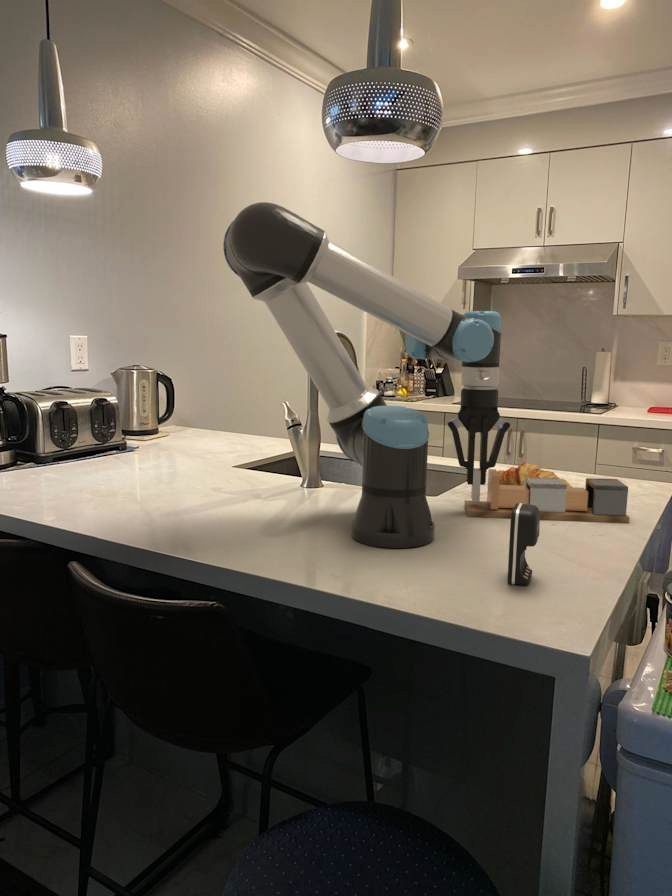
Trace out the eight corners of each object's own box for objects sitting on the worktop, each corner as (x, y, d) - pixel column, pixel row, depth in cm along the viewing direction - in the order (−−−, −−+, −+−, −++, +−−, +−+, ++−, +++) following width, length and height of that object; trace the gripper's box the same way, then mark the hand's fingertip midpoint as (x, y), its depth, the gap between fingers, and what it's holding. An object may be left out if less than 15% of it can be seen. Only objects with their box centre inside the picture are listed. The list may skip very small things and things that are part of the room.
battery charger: (533, 588, 99) (537, 513, 97) (506, 585, 100) (510, 510, 98) (537, 573, 105) (542, 502, 103) (512, 570, 107) (516, 500, 105)
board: (467, 516, 138) (468, 510, 138) (464, 505, 147) (464, 500, 147) (629, 523, 135) (629, 517, 135) (615, 511, 144) (616, 506, 143)
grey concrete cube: (529, 511, 138) (531, 484, 137) (524, 504, 144) (525, 477, 143) (564, 513, 137) (566, 485, 136) (557, 505, 144) (559, 478, 143)
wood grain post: (490, 509, 138) (492, 475, 137) (487, 501, 145) (488, 469, 144) (588, 512, 136) (591, 479, 135) (580, 504, 143) (582, 472, 142)
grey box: (593, 514, 136) (595, 485, 135) (584, 505, 144) (586, 478, 143) (625, 516, 135) (628, 487, 134) (614, 506, 143) (617, 479, 142)
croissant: (575, 509, 160) (583, 477, 162) (564, 496, 152) (573, 463, 154) (492, 494, 172) (500, 464, 174) (478, 481, 165) (487, 451, 166)
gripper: (448, 388, 135) (445, 503, 139) (514, 389, 134) (509, 504, 138) (446, 386, 143) (443, 494, 147) (509, 386, 141) (504, 496, 145)
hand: (475, 499), depth 142 cm, fingers closed
